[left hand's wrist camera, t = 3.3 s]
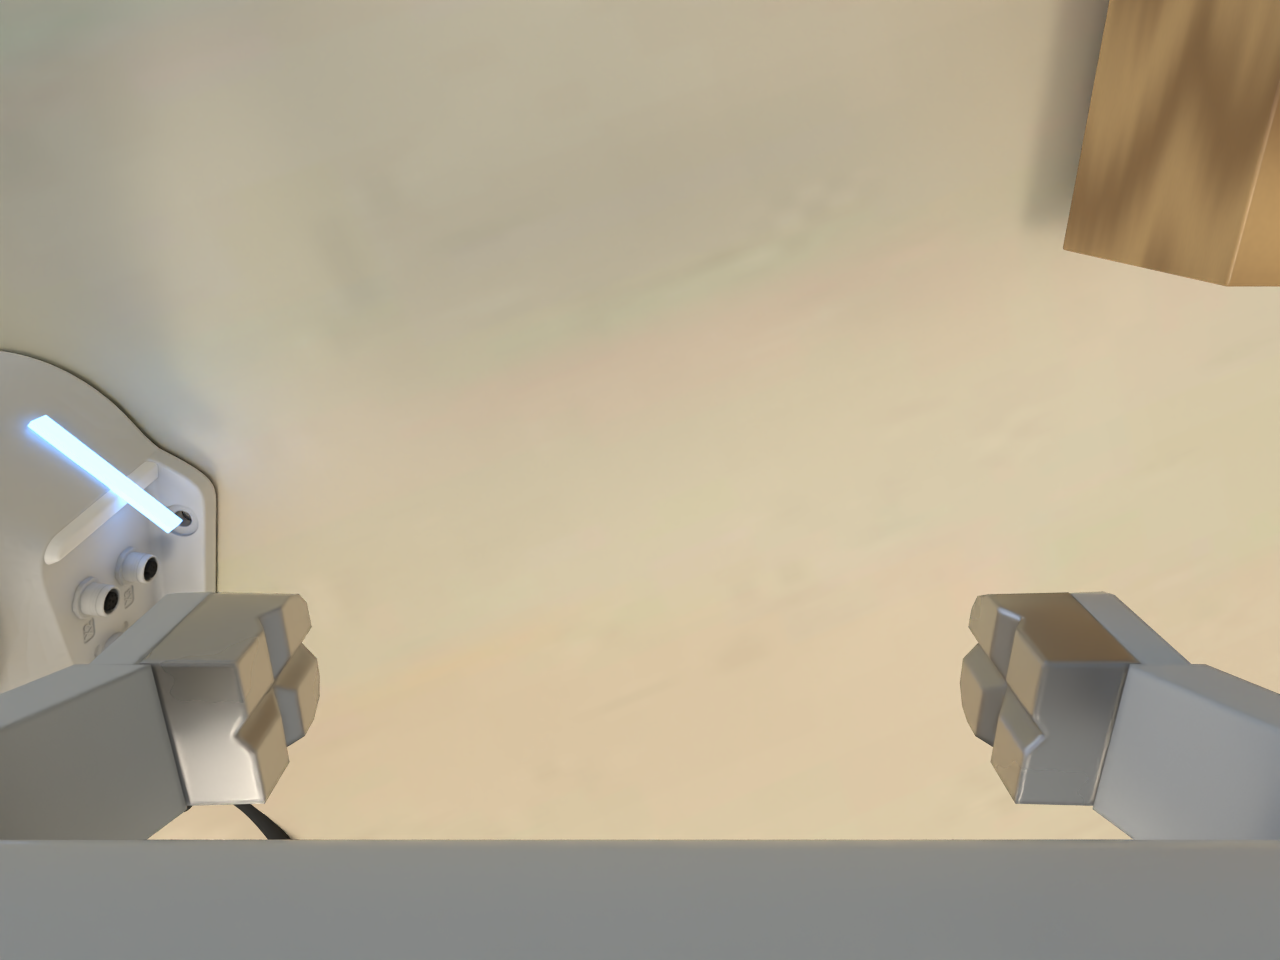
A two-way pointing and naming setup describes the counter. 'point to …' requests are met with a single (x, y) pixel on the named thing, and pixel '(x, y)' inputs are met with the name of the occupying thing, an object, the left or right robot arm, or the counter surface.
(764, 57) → the counter surface
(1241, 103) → the bar
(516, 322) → the counter surface
